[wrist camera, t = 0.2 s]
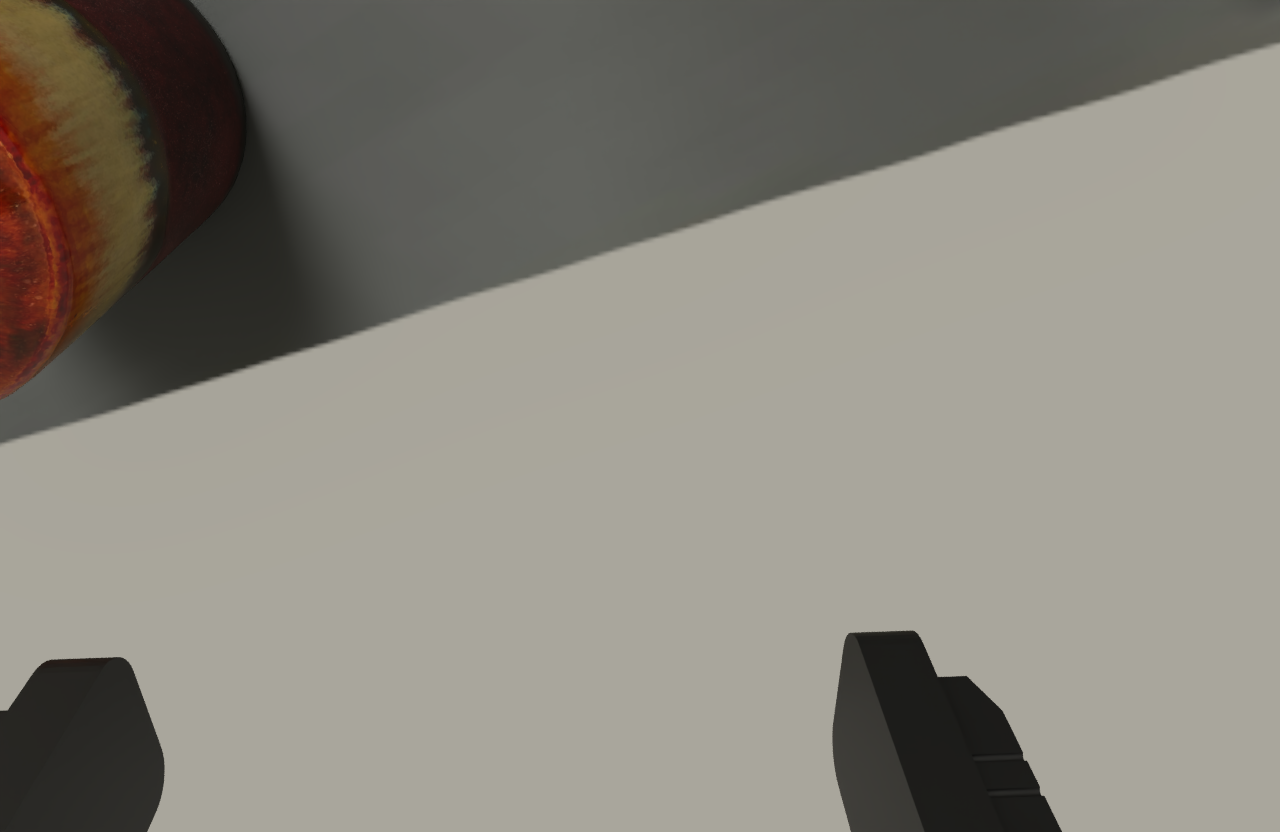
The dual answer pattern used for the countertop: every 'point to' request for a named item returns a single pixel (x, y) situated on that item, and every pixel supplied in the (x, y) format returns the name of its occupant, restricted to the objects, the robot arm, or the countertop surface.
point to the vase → (102, 158)
